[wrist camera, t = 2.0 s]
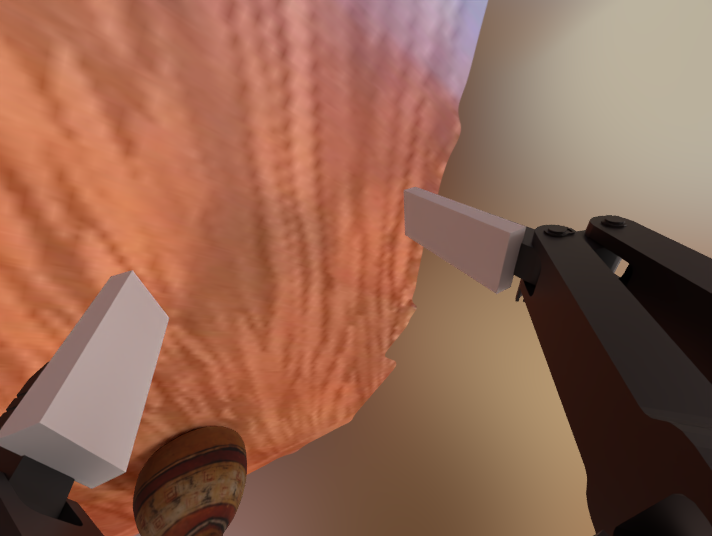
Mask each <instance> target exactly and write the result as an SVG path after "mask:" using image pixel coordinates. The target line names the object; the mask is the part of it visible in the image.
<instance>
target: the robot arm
mask: <svg viewBox="0 0 712 536" xmlns="http://www.w3.org/2000/svg"><path fill="white" fill-rule="evenodd" d="M404 214H405V235H406V236H408V237H409V238H411V239H412V240H414V241H416V242H417V243H419V244H420V245H422V246H423V247H425V248H426V249H428V250H429V251H431V252H433V253H434V254H436V255H437V256H439V257H440V258H442V259H443V260H445V261H446V262H448V263H450V264H451V265H453V266H454V267H456V268H457V269H459V270H460V271H462V272H464V273H465V274H467V275H468V276H470V277H471V278H473V279H475V280H476V281H477V282H479V283H481V284H482V285H484V286H485V287H487V288H488V289H490V290H492V291H493V292H495V293H496V294H497V293H499V292H501V291H504V290H506V289H508V288H510V287H511V283H512V279H513V276H514V275H515V276H517V277H519V278H521V281H520V284H519V287H518V291H517V295H516V301H519V298H520V297H521V296H522V295H523V298H524V299H523V302H525V303H526V306H527V309H528V312H529V314H530V317H531V320H532V323H533V325H534V328H535V330H536V333H537V336H538V339H539V342H540V345H541V347H542V350H543V353H544V355H545V358H546V361H547V364H548V367H549V369H550V372H551V375H552V377H553V380H554V383H555V386H556V388H557V391H558V394H559V397H560V399H561V402H562V405H563V408H564V411H565V413H566V416H567V419H568V421H569V424H570V427H571V430H572V432H573V435H574V438H575V441H576V443H577V446H578V449H579V452H580V454H581V457H582V460H583V463H584V465H585V469H586V474H587V490H586V495H587V503H588V509H589V512H590V516H591V520H592V523H593V526H594V528H595V531H596V535H594V536H712V259H711V258H709V257H707V256H705V255H703V254H701V253H699V252H697V251H695V250H692V249H690V248H688V247H686V246H684V245H682V244H680V243H678V242H676V241H674V240H672V239H669V238H667V237H665V236H663V235H661V234H659V233H657V232H655V231H652V230H651V229H648V228H646V227H644V226H642V225H640V224H638V223H636V222H634V221H631V220H628V219H625V218H622V217H619V216H612V215H607V216H598V217H593V218H592V219H590V221H589V224H588V226H587V229H586V230H584V231H577V232H576V231H575V230H573V229H572V228H568V227H565V226H560V225H543V226H540V227H537V228H536V229H532V228H529V227H526V226H523V225H520V224H518V223H515V222H512V221H509V220H506V219H504V218H501V217H498V216H496V215H493V214H490V213H487V212H484V211H481V210H478V209H475V208H473V207H470V206H467V205H464V204H462V203H459V202H456V201H453V200H451V199H448V198H445V197H442V196H439V195H437V194H434V193H431V192H428V191H425V190H423V189H420V188H417V187H413V188H410V189H406V190H404ZM621 259H623V260H625V261H627V262H628V263H629V265H628V267H627V269H626V271H625V273H624V274H623V275H622V277H619V276H617V275H616V274H614V272H615V271H616V269H617V267H618V265H619V263H620V261H621ZM168 320H169V317H168V316H167V314H166V313H165V312H164V310H163V309H162V308H161V307H160V305H159V304H158V303H157V301H156V300H155V299H154V297H153V296H152V295H151V294H150V292H149V291H148V290H147V288H146V287H145V286H144V285H143V283H142V282H141V281H140V279H139V278H138V277H137V275H136V274H135V273H134V272H133V270H132V271H128V272H125V273H121V274H118V275H115V276H111V277H110V278H109V280H108V281H107V283H106V284H105V285H104V287H103V288H102V290H101V291H100V292H99V294H98V295H97V296H96V298H95V299H94V301H93V302H92V303H91V305H90V306H89V308H88V309H87V310H86V312H85V313H84V315H83V316H82V317H81V319H80V320H79V321H78V323H77V324H76V326H75V327H74V328H73V330H72V331H71V333H70V334H69V335H68V337H67V338H66V339H65V341H64V342H63V344H62V345H61V346H60V348H59V349H58V351H57V352H56V353H55V355H54V356H53V357H52V359H51V360H50V362H47V363H46V364H45V365H44V366H43V367H42V368H41V369H40V370H39V371H37V372H36V373H35V374H34V375H33V376H32V377H31V378H30V379H29V380H28V381H27V382H26V384H25V385H24V386H23V388H22V389H21V390H20V392H19V393H18V394H17V398H15V399H14V400H13V401H12V402H11V404H10V405H9V406H8V408H7V409H6V410H7V412H5V413H3V414H2V416H1V417H0V536H104V535H103V534H102V533H101V531H100V530H99V529H98V528H97V526H96V525H95V524H94V523H93V521H92V520H91V519H90V518H89V516H88V515H87V514H86V513H85V511H84V510H83V509H82V508H81V506H80V505H79V504H78V503H77V502H75V501H72V500H70V499H68V498H67V497H68V495H69V492H70V490H71V487H72V485H73V483H74V481H76V482H79V483H81V484H83V485H85V486H87V487H89V488H91V489H92V488H94V487H96V486H98V485H100V484H103V483H105V482H107V481H109V480H111V479H113V478H115V477H117V476H119V475H121V474H123V473H125V472H126V470H127V467H128V463H129V459H130V456H131V452H132V449H133V445H134V442H135V438H136V434H137V431H138V427H139V424H140V420H141V417H142V413H143V409H144V406H145V402H146V399H147V395H148V392H149V388H150V384H151V381H152V377H153V374H154V370H155V367H156V363H157V359H158V356H159V352H160V349H161V345H162V342H163V338H164V334H165V331H166V327H167V324H168Z"/></svg>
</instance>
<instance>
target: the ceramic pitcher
mask: <svg viewBox="0 0 712 536" xmlns="http://www.w3.org/2000/svg"><path fill="white" fill-rule="evenodd" d="M246 474H247V459H246V450H245V445H244V442H243V440H242V438H241V436H240V435H239V434H238V433H237V432H236V431H234V430H232V429H229V428H226V427H220V426H210V427H204V428H200V429H196V430H194V431H191V432H188V433H186V434H184V435H181V436H179V437H178V438H176V439H174V440H173V441H171V442H169V443H168V444H166V445H164V446H163V447H161V448H160V449H159V450H158V451H156V452H155V453H154V454H153V455H152V456H151V457H150V458H149V460H148V461H147V462H146V464H145V465H144V467H143V468H142V470H141V472H140V474H139V477H138V479H137V483H136V486H135V491H134V497H133V511H134V517H135V522H136V525H137V528H138V531H139V533H140V535H141V536H223V533H224V531H225V530H226V529H227V527H228V526H229V525H230V523H231V521H232V520H233V518H234V516H235V514H236V511H237V509H238V506H239V504H240V501H241V498H242V495H243V491H244V487H245V482H246Z"/></svg>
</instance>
